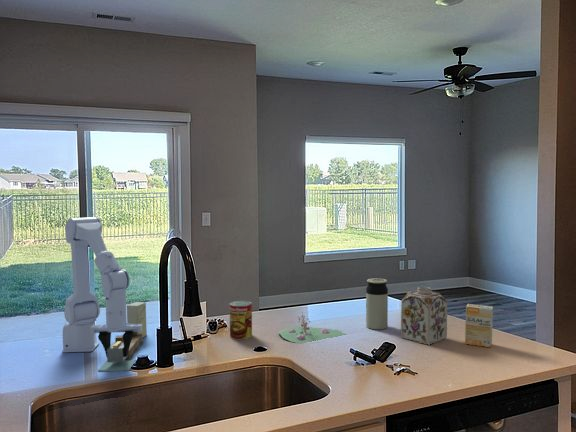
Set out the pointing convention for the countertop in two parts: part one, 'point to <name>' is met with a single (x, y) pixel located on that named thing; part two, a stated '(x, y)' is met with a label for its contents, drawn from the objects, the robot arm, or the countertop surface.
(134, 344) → the hand plane
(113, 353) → the lever cap
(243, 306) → the canned food
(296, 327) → the plant
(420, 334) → the decorative jar
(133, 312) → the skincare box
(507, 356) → the countertop surface
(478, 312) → the supplement box
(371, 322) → the travel mug
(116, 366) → the mat
